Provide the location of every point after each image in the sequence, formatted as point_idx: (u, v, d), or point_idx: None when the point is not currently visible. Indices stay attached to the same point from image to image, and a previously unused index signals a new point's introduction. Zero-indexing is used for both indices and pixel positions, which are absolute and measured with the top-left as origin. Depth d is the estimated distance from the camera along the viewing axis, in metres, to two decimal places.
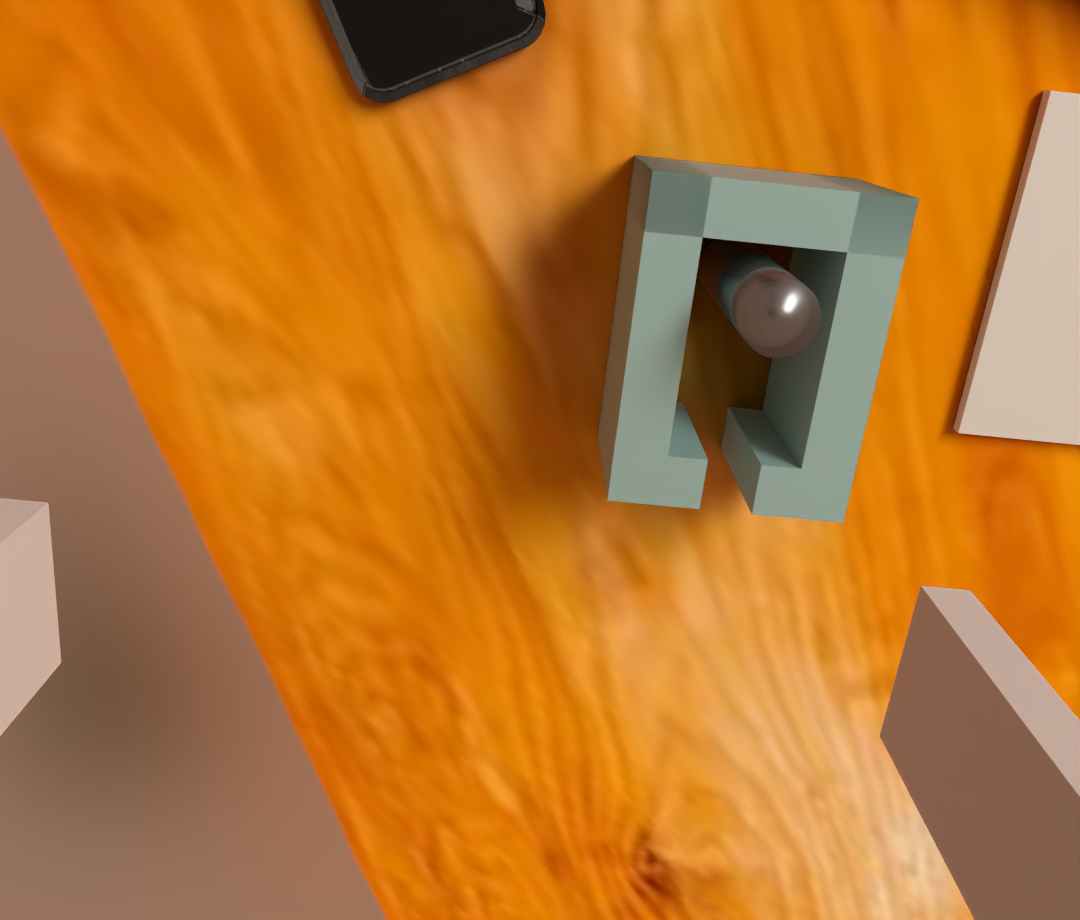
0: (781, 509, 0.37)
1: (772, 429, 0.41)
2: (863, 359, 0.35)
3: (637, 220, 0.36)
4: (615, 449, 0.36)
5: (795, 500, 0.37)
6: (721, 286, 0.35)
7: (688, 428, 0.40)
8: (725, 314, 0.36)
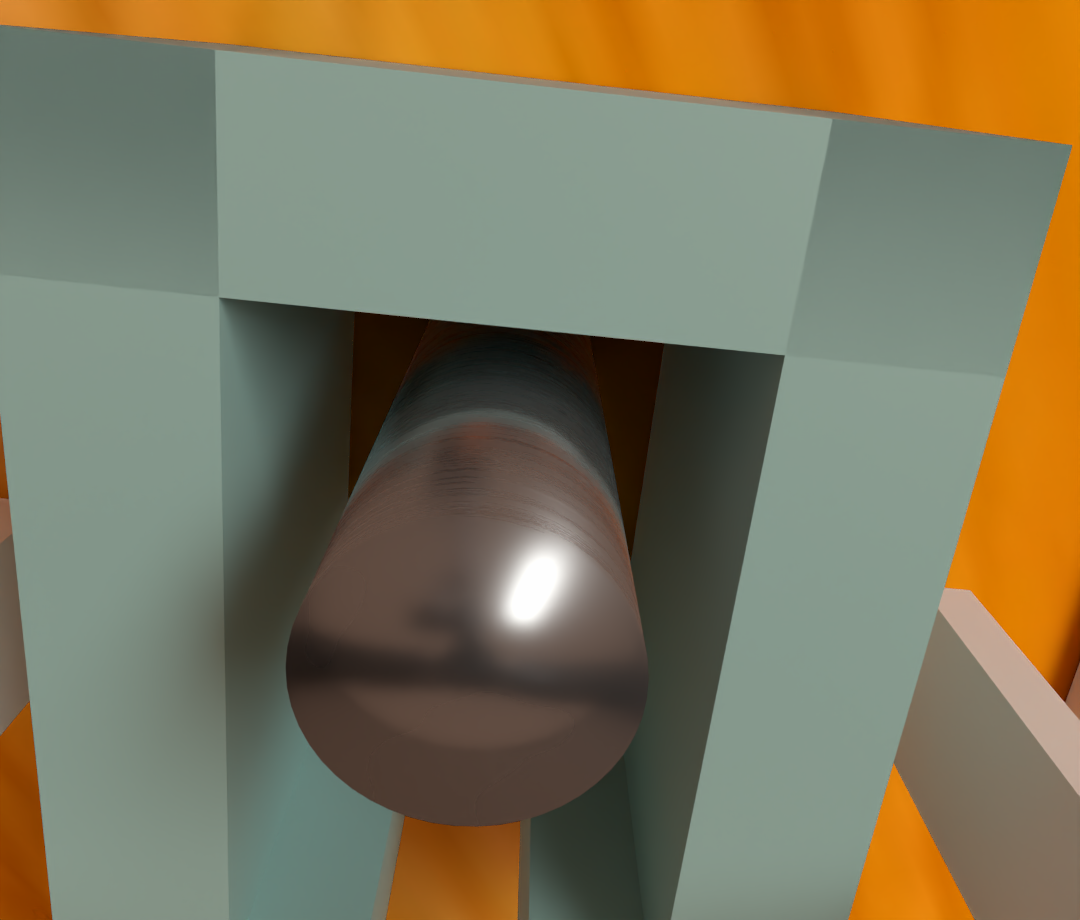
0: None
1: (617, 762, 0.16)
2: (847, 711, 0.10)
3: None
4: None
5: None
6: None
7: None
8: None
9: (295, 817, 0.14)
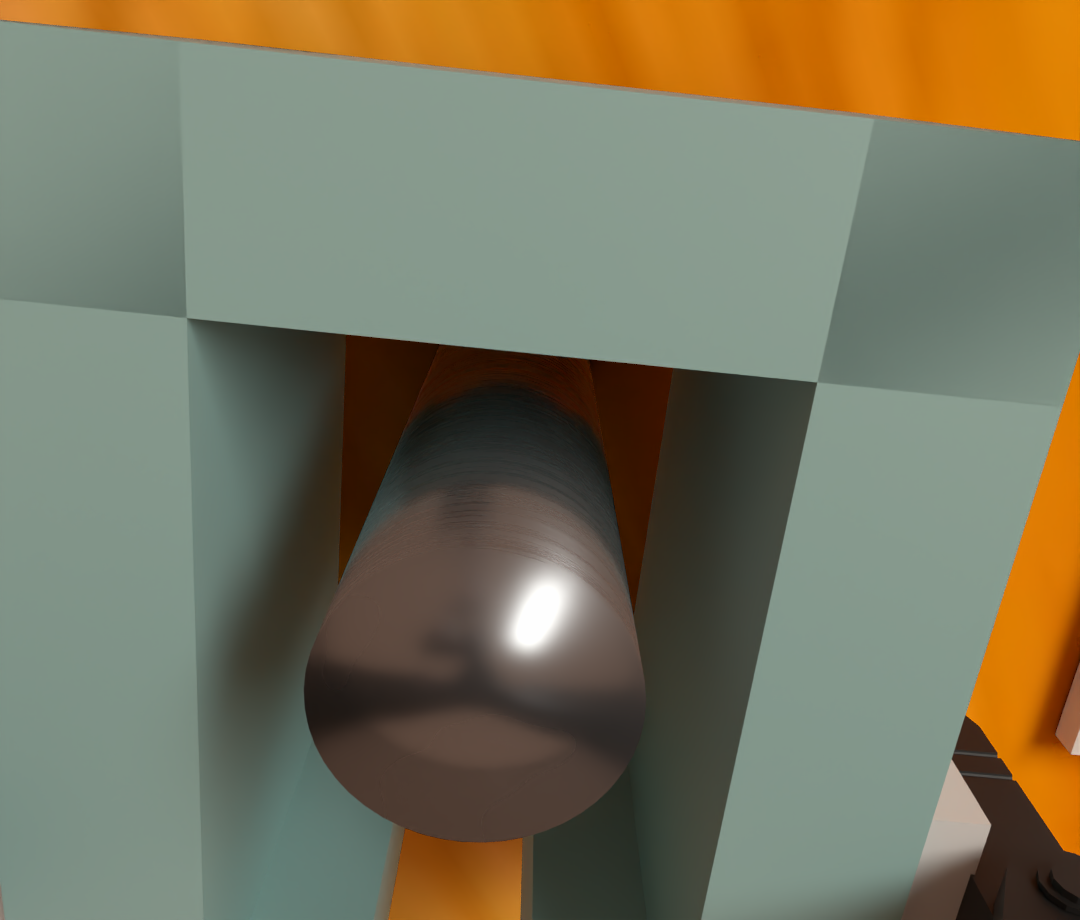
0: None
1: (624, 803, 0.15)
2: (880, 769, 0.09)
3: None
4: None
5: None
6: None
7: (374, 826, 0.14)
8: None
9: (281, 866, 0.13)
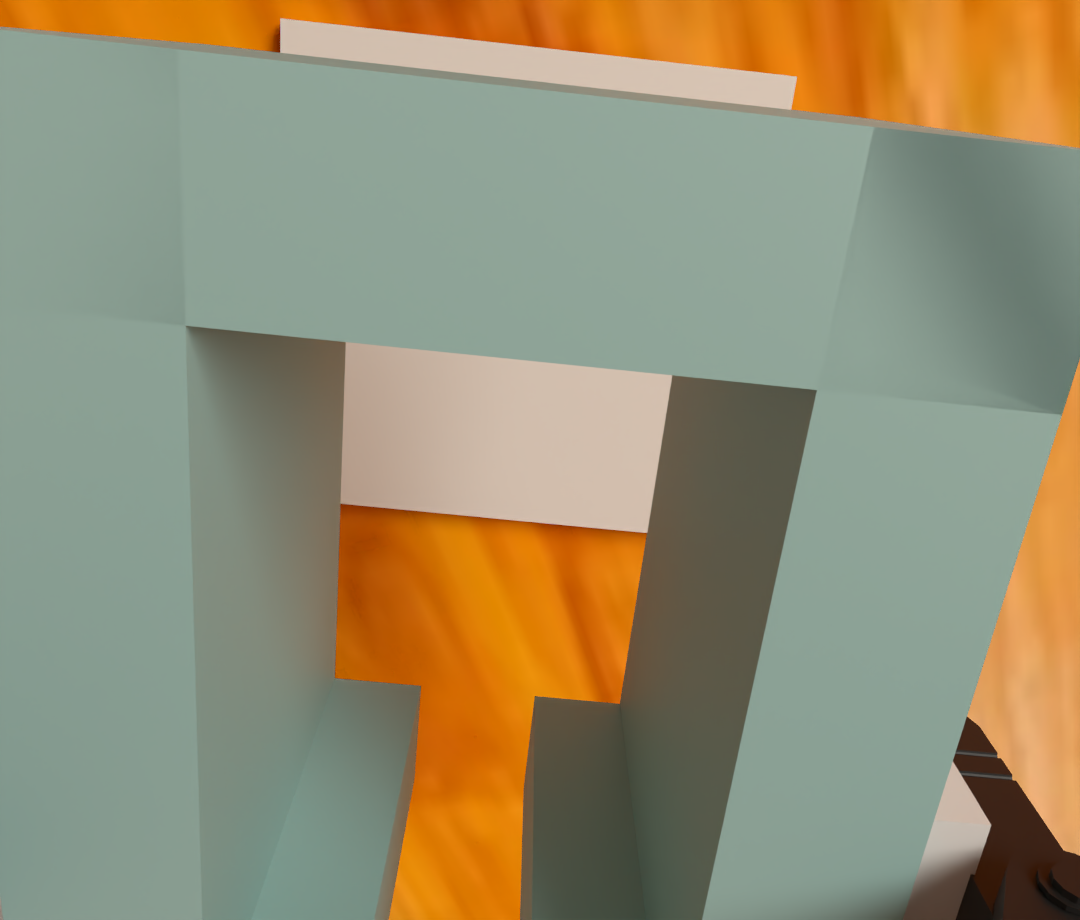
0: None
1: (624, 807, 0.15)
2: (881, 777, 0.09)
3: None
4: None
5: None
6: None
7: (373, 830, 0.14)
8: None
9: (281, 871, 0.13)
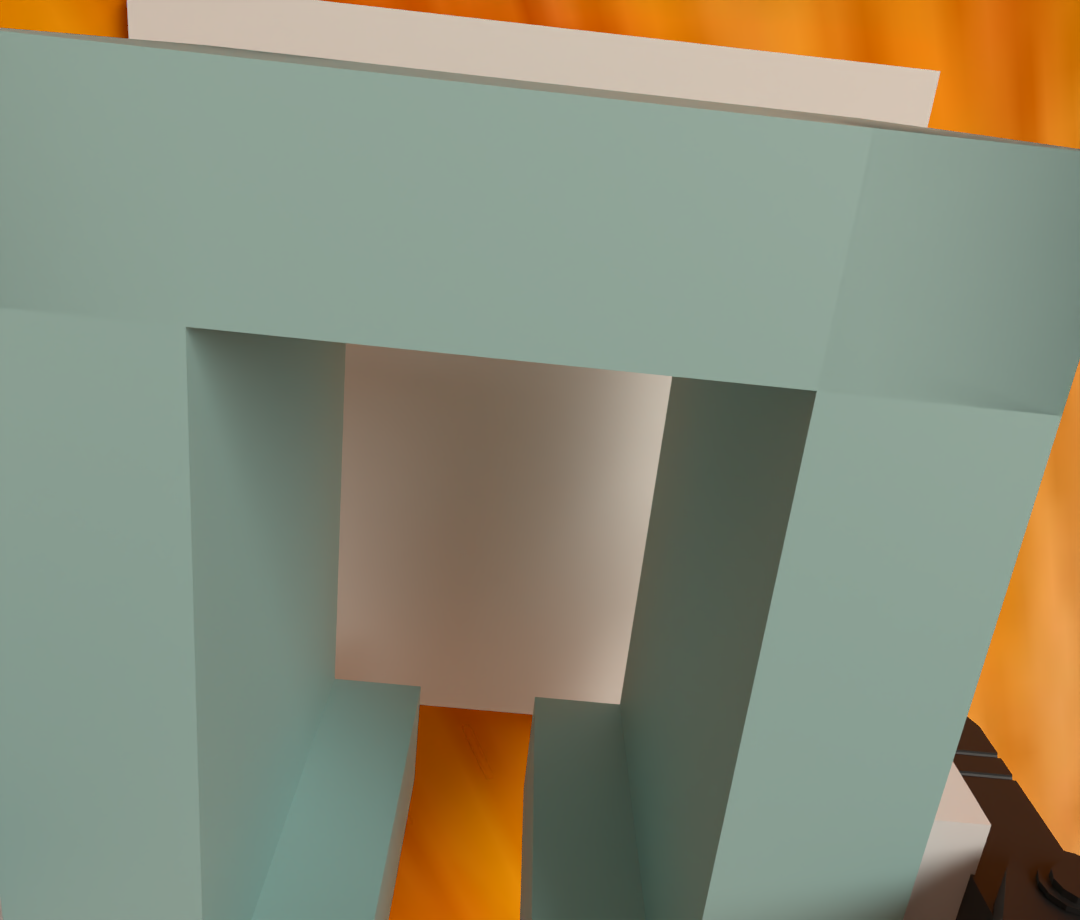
0: None
1: (624, 807, 0.15)
2: (881, 777, 0.09)
3: None
4: None
5: None
6: None
7: (373, 831, 0.14)
8: None
9: (281, 871, 0.13)
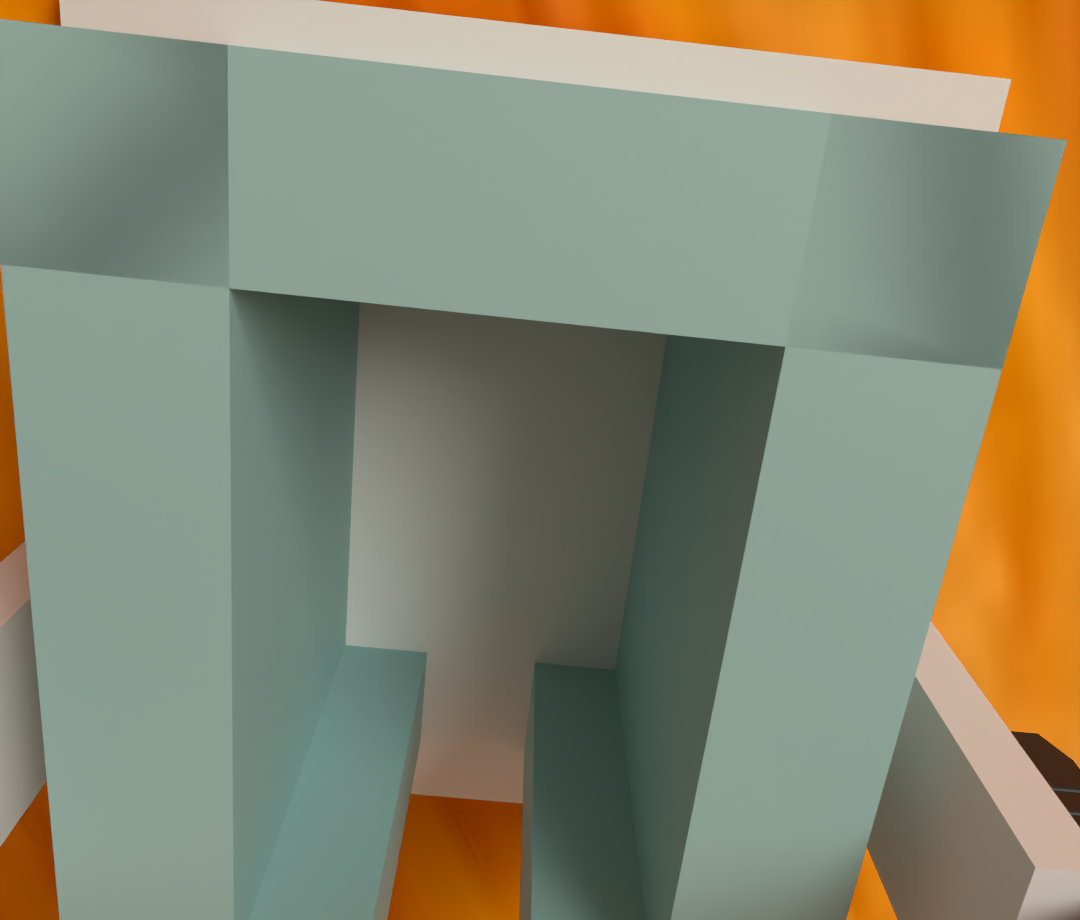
0: None
1: (618, 760, 0.16)
2: (847, 701, 0.10)
3: None
4: None
5: None
6: None
7: (384, 778, 0.15)
8: None
9: (299, 812, 0.14)
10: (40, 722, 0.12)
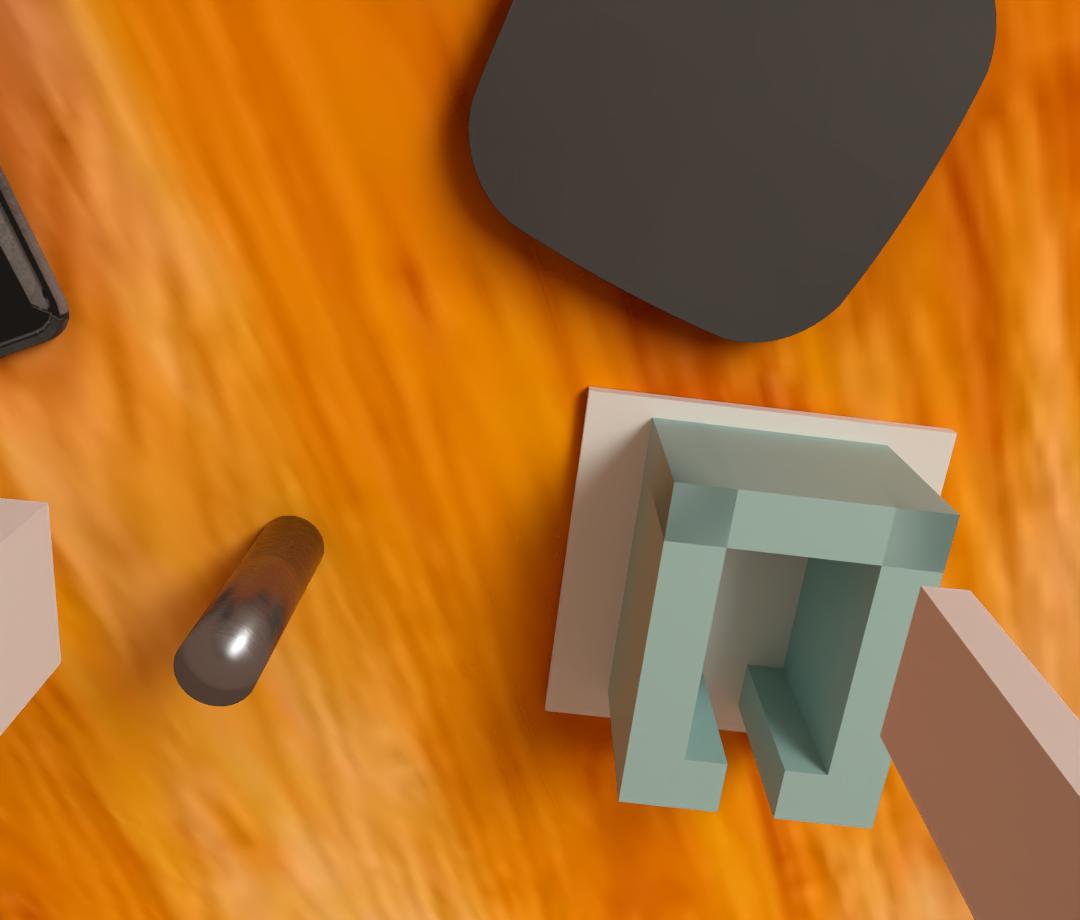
0: (805, 814, 0.34)
1: (794, 703, 0.38)
2: (897, 670, 0.33)
3: (655, 509, 0.34)
4: (628, 751, 0.34)
5: (820, 805, 0.34)
6: None
7: (705, 707, 0.37)
8: None
9: None
10: None
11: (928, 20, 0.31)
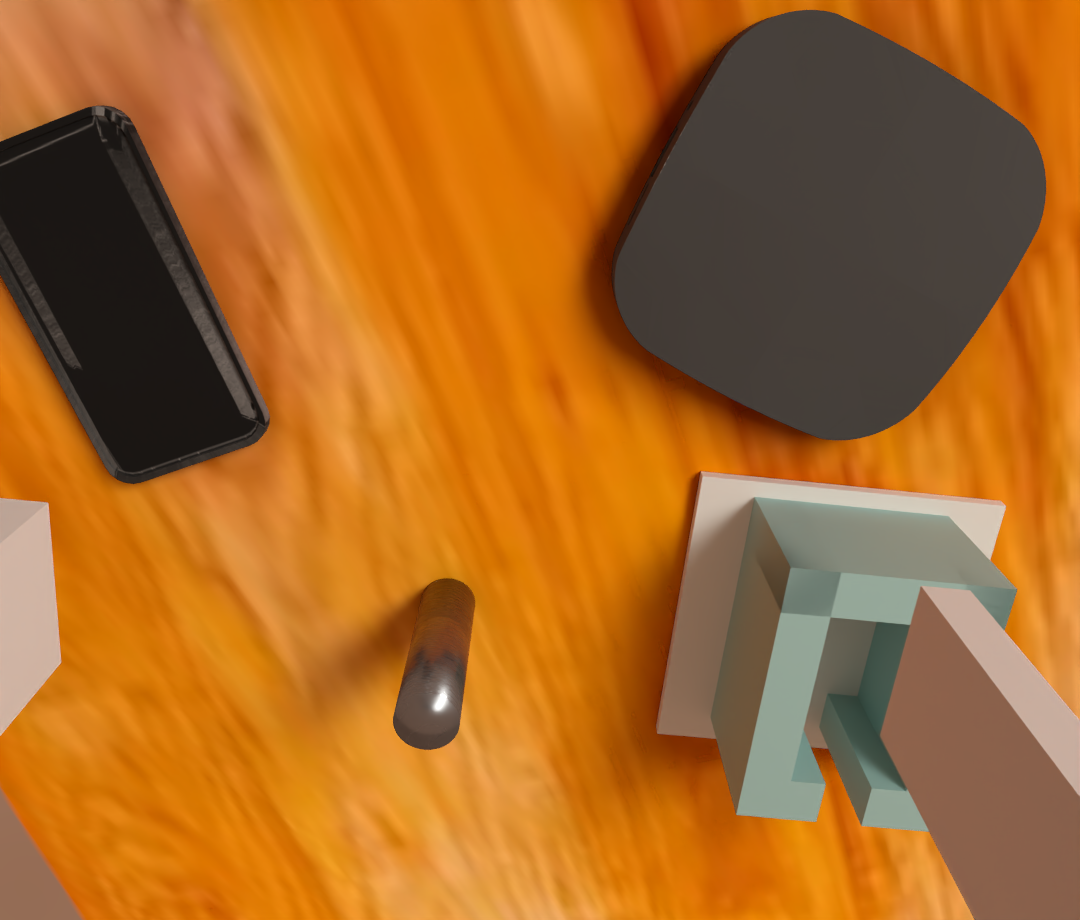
0: (887, 822, 0.43)
1: (871, 728, 0.46)
2: None
3: (766, 580, 0.41)
4: (745, 775, 0.42)
5: (899, 815, 0.42)
6: None
7: None
8: None
9: None
10: None
11: (991, 190, 0.38)
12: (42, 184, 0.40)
